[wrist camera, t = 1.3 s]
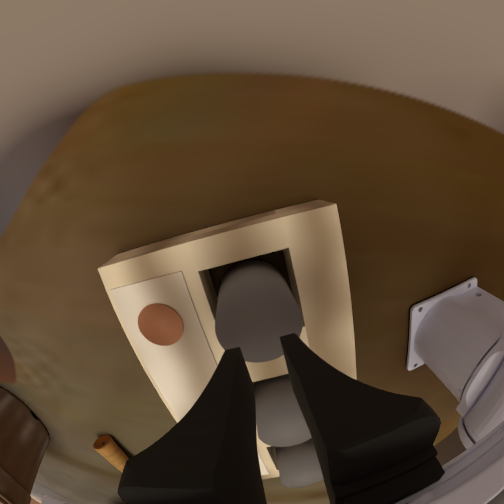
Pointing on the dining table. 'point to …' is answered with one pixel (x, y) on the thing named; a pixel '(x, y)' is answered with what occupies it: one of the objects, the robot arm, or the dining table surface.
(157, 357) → the button board
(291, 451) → the button
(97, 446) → the kendama
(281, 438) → the button
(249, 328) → the button
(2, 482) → the plant pot
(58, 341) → the dining table surface
